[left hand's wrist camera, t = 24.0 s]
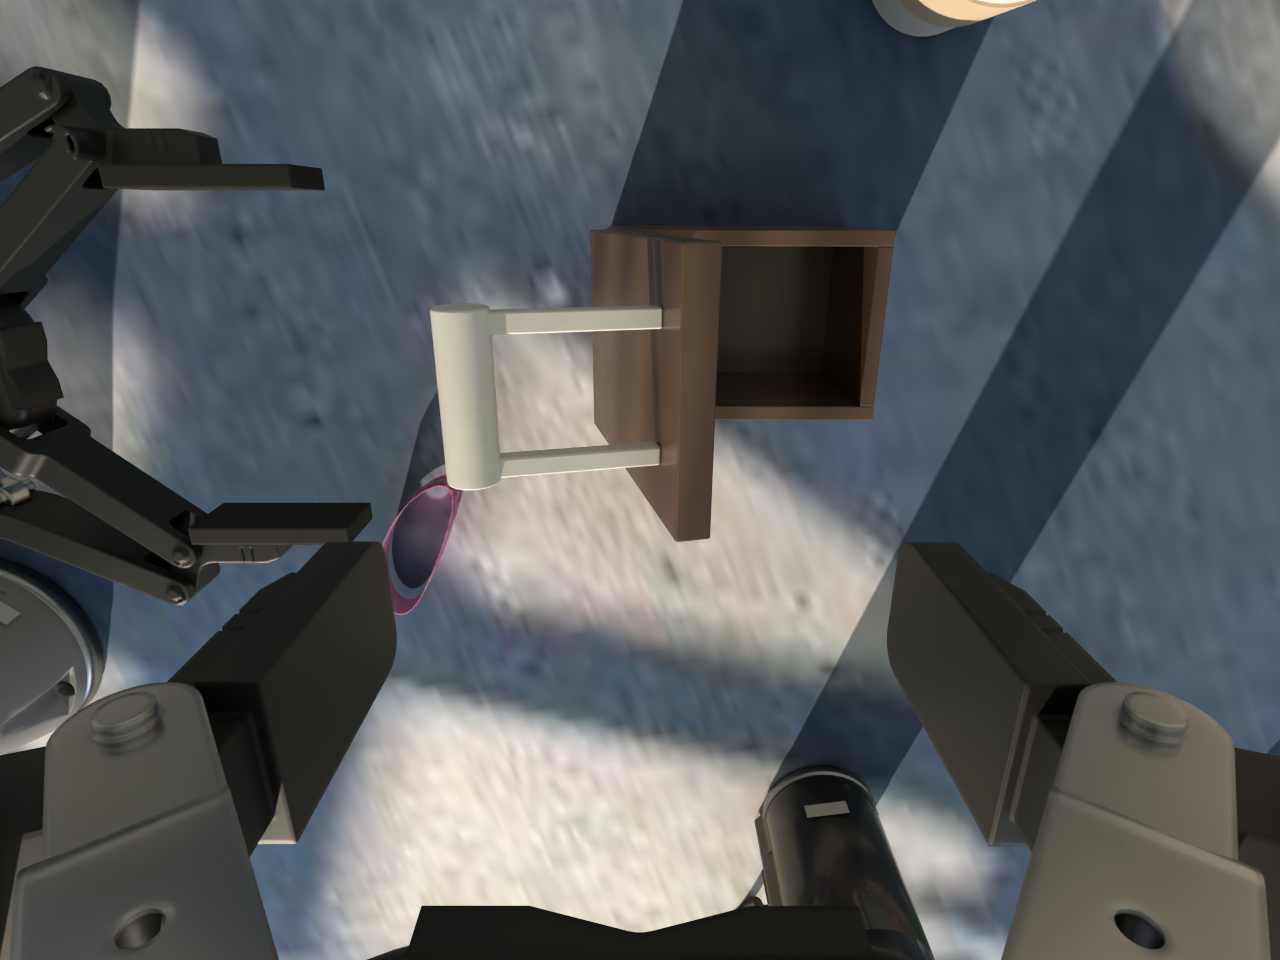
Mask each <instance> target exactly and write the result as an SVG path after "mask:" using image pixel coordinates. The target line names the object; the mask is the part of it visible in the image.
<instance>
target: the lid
mask: <svg viewBox="0 0 1280 960" xmlns="http://www.w3.org/2000/svg"><path fill="white" fill-rule="evenodd" d="M721 262H722V242H720V241H713V240H704V239H695V238H686V237H677V236H668V235H659V234H650V233H641V232H632V231H623V230H591V277H592V307H573V308H536V309H500V310H490V308H489V307H488V306H486V305H481V304H446V305H438V306H434V307H432V308H431V309H430V314H431V324H432V334H433V344H434V354H435V365H436V375H437V385H438V395H439V405H440V415H441V425H442V435H443V445H444V455H445V465H446V475H447V483H448V485H449V486H450V487H452V488H455V489H460V490H480V489H485V488H489V487H492V486H494V485H496V484H498V483H499V482H500V481H501V478H505V477H517V476H529V475H541V474H554V473H566V472H578V471H591V470H603V469H615V468H626V470H627V471H628V473H629V474H630V476H631V477H632V479H633V480H634V481H635V483H636V484H637V486H638V487H639V489H640V490H641V492H642V493H643V495H644V496H645V498H646V499H647V500H648V502H649V503H650V505H651V506H652V508H653V509H654V511H655V512H656V514H657V515H658V516H659V518H660V519H661V521H662V522H663V524H664V525H665V527H666V528H667V530H668V531H669V533H670V534H671V535H672V537H673V538H674V540H675V541H676V542H682V541H691V540H700V539H709V538H710V523H711V499H712V476H713V452H714V428H715V404H716V380H717V357H718V333H719V309H720V285H721ZM584 331H593V376H594V423H595V425H596V426H597V428H598V429H599V430H600V432H601V433H602V435H603V436H604V438H605V439H606V441H607V442H608V444H609V445H605V446H592V447H578V448H564V449H551V450H537V451H524V452H510V453H500V449H499V435H498V421H497V407H496V392H495V378H494V364H493V350H492V335H500V334H528V333H556V332H584Z"/></svg>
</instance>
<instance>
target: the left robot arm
mask: <svg viewBox="0 0 1280 960" xmlns="http://www.w3.org/2000/svg"><path fill="white" fill-rule="evenodd" d="M396 643H397V632H396V624H395V617H394V610H393V602H392V595H391V588H390V581H389V574H388V567H387V560H386V555H385V551H384V549H383V547H382V545H381V544H380V543H379V542H327V543H325V544H324V545H323V546H322V547H321V548H320V549H319V550H318V551H317V552H316V553H315V554H314V556H313V557H312V558H311V559H310V560H309V561H308V562H307V563H306V564H305V565H304V566H303V567H302V568H301V569H300V570H299V571H298V572H297V573H289V574H288V575H286V576H284V577H282V578H280V579H279V580H277V581H275V582H273V583H271V584H269V585H268V586H266V587H264V588H262V589H260V590H259V591H258V592H257V593H256V594H255V595H254V596H253V597H252V598H251V599H250V600H249V601H248V602H247V603H246V604H245V605H244V606H243V607H242V608H241V609H240V612H239V614H235V615H234V616H233V617H232V618H231V619H230V620H229V621H228V622H227V623H226V624H225V625H224V626H223V629H222V631H218V632H217V633H216V634H215V635H214V636H213V637H212V638H211V639H210V640H209V641H208V642H207V643H206V644H205V645H204V646H203V647H202V648H201V649H200V650H199V651H198V652H197V653H196V654H195V655H194V656H193V657H192V658H191V659H190V660H189V661H188V662H187V663H186V664H185V665H184V666H183V667H182V668H181V669H180V670H179V671H178V672H177V673H176V674H175V675H174V676H173V677H172V678H171V679H170V680H169V681H168V682H160V683H151V684H145V685H140V686H136V687H132V688H129V689H125V690H122V691H119V692H116V693H113V694H111V695H108V696H106V697H104V698H101V699H99V700H97V701H95V702H93V703H91V704H89V705H87V706H86V707H84V708H82V709H81V710H79V711H78V712H76V713H75V714H73V715H72V716H71V717H69V718H68V719H67V720H65V721H64V722H63V723H62V724H61V725H60V726H59V727H58V728H57V729H56V730H55V731H54V733H53V734H52V735H51V736H50V738H49V740H48V742H47V745H46V747H41V748H36V749H31V750H26V751H21V752H16V753H10V754H5V755H0V960H279V959H278V955H277V952H276V948H275V945H274V941H273V938H272V934H271V931H270V927H269V924H268V920H267V917H266V913H265V910H264V907H263V903H262V900H261V896H260V893H259V889H258V886H257V882H256V879H255V875H254V872H253V868H252V865H251V861H250V858H249V857H250V856H251V854H252V852H253V851H254V849H255V848H256V846H257V844H297V842H298V840H299V838H300V836H301V834H302V833H303V831H304V829H305V827H306V825H307V823H308V822H309V820H310V818H311V816H312V814H313V812H314V810H315V809H316V807H317V805H318V803H319V801H320V799H321V798H322V796H323V794H324V792H325V790H326V788H327V787H328V785H329V783H330V781H331V779H332V777H333V776H334V774H335V772H336V770H337V768H338V766H339V765H340V763H341V761H342V759H343V757H344V755H345V753H346V752H347V750H348V748H349V746H350V744H351V742H352V741H353V739H354V737H355V735H356V733H357V731H358V730H359V728H360V726H361V724H362V722H363V720H364V719H365V717H366V715H367V713H368V711H369V709H370V708H371V706H372V704H373V702H374V700H375V698H376V696H377V695H378V693H379V691H380V689H381V687H382V685H383V684H384V682H385V680H386V678H387V676H388V674H389V673H390V670H391V668H392V665H393V662H394V658H395V653H396ZM887 648H888V656H889V661H890V664H891V667H892V670H893V672H894V674H895V676H896V678H897V680H898V682H899V683H900V685H901V687H902V689H903V691H904V692H905V694H906V696H907V698H908V700H909V701H910V703H911V705H912V707H913V709H914V711H915V712H916V714H917V716H918V718H919V720H920V721H921V723H922V725H923V727H924V729H925V731H926V732H927V734H928V736H929V738H930V740H931V741H932V743H933V745H934V747H935V749H936V751H937V752H938V754H939V756H940V758H941V760H942V761H943V763H944V765H945V767H946V769H947V771H948V772H949V774H950V776H951V778H952V780H953V781H954V783H955V785H956V787H957V789H958V791H959V792H960V794H961V796H962V798H963V800H964V801H965V803H966V805H967V807H968V809H969V810H970V812H971V814H972V816H973V818H974V820H975V821H976V823H977V825H978V827H979V829H980V830H981V832H982V834H983V836H984V838H985V840H986V841H987V843H988V845H989V846H1028V847H1029V848H1030V850H1031V852H1032V854H1031V858H1030V861H1029V865H1028V868H1027V872H1026V875H1025V879H1024V882H1023V886H1022V889H1021V893H1020V896H1019V900H1018V903H1017V907H1016V910H1015V913H1014V917H1013V920H1012V924H1011V927H1010V931H1009V934H1008V938H1007V941H1006V945H1005V948H1004V952H1003V955H1002V959H1001V960H1280V757H1279V756H1274V755H1269V754H1264V753H1259V752H1254V751H1249V750H1244V749H1239V748H1235V747H1234V745H1233V742H1232V740H1231V738H1230V736H1229V735H1228V734H1227V733H1226V731H1225V730H1224V729H1223V728H1222V727H1221V726H1220V725H1219V724H1218V723H1217V722H1216V721H1215V720H1213V719H1212V718H1211V717H1209V716H1208V715H1207V714H1205V713H1204V712H1202V711H1201V710H1199V709H1198V708H1196V707H1194V706H1193V705H1191V704H1189V703H1187V702H1185V701H1183V700H1181V699H1179V698H1176V697H1174V696H1172V695H1169V694H1167V693H1164V692H1161V691H1158V690H1155V689H1151V688H1148V687H1144V686H1140V685H1135V684H1129V683H1120V682H1117V681H1116V680H1115V679H1114V678H1113V677H1112V676H1111V675H1110V674H1109V673H1108V672H1107V671H1106V670H1105V669H1104V668H1103V667H1102V666H1100V665H1099V664H1098V663H1097V662H1096V661H1095V660H1094V659H1093V658H1092V657H1091V656H1090V655H1089V654H1088V653H1087V652H1086V651H1085V650H1084V649H1083V648H1082V647H1081V646H1080V645H1079V644H1078V643H1077V642H1076V641H1075V640H1074V639H1073V638H1072V637H1071V636H1070V635H1069V634H1068V633H1063V628H1062V627H1061V626H1060V625H1059V624H1058V623H1057V622H1056V621H1055V620H1054V619H1053V618H1052V617H1051V616H1046V611H1045V610H1044V609H1043V608H1042V607H1041V606H1040V605H1039V604H1038V603H1037V602H1036V601H1035V600H1033V599H1032V598H1031V597H1030V596H1029V595H1028V594H1027V593H1026V592H1025V591H1024V590H1022V589H1020V588H1018V587H1017V586H1015V585H1013V584H1011V583H1009V582H1007V581H1006V580H1004V579H1002V578H1000V577H998V576H997V575H995V574H987V573H986V572H985V571H984V570H983V569H982V568H981V567H980V566H979V564H978V563H977V562H976V561H975V560H974V559H973V558H972V557H971V556H970V555H969V554H968V553H967V552H966V551H965V550H964V549H963V548H962V547H961V546H960V545H959V544H957V543H905V544H904V545H903V546H902V548H901V550H900V552H899V556H898V561H897V567H896V574H895V581H894V588H893V595H892V602H891V609H890V616H889V623H888V631H887ZM755 827H756V832H757V838H758V843H759V848H760V854H761V859H762V864H763V870H762V876H763V881H764V887H765V892H766V898H767V903H768V904H767V905H763V903H762V901H761V899H760V898H758V897H751V898H749V899H748V900H746V901H745V902H744V903H743V904H742V905H741V906H740V907H739V908H738V909H737V910H733V911H729V912H725V913H721V914H717V915H713V916H709V917H706V918H702V919H698V920H694V921H690V922H686V923H682V924H678V925H674V926H670V927H666V928H662V929H659V930H655V931H650V932H630V931H625V930H621V929H618V928H614V927H610V926H606V925H602V924H598V923H594V922H590V921H586V920H582V919H578V918H574V917H571V916H567V915H563V914H559V913H555V912H551V911H547V910H543V909H539V908H535V907H531V906H422V907H421V910H420V913H419V916H418V919H417V923H416V926H415V929H414V932H413V935H412V938H411V942H410V945H409V946H406V947H402V948H398V949H395V950H392V951H389V952H387V953H384V954H381V955H378V956H376V957H373V958H370V959H368V960H935V959H934V956H933V954H932V951H931V949H930V946H929V943H928V941H927V938H926V936H925V933H924V931H923V928H922V926H921V923H920V921H919V918H918V915H917V913H916V910H915V908H914V905H913V903H912V900H911V898H910V895H909V893H908V890H907V887H906V885H905V882H904V880H903V877H902V875H901V872H900V870H899V867H898V865H897V862H896V859H895V857H894V854H893V852H892V849H891V847H890V844H889V842H888V839H887V837H886V834H885V831H884V829H883V826H882V824H881V821H880V819H879V816H878V812H877V809H876V807H875V803H874V800H873V798H872V795H871V793H870V791H869V789H868V787H867V786H866V784H865V783H864V782H863V781H862V780H861V779H860V778H858V777H857V776H855V775H854V774H852V773H850V772H848V771H845V770H842V769H839V768H834V767H811V768H806V769H802V770H799V771H796V772H794V773H791V774H789V775H788V776H786V777H784V778H783V779H781V780H780V781H779V782H778V783H776V784H775V785H774V786H773V787H772V789H771V790H770V791H769V793H768V794H767V796H766V798H765V800H764V803H763V808H762V814H761V815H760V817H758V818H757V819H756V820H755Z"/></svg>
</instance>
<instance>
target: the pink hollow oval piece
mask: <svg viewBox="0 0 1280 960" xmlns="http://www.w3.org/2000/svg"><path fill="white" fill-rule="evenodd" d="M434 487H444V488H446V489H448V490H449V491H450V493H451V496H452V511H451V517H450V521H449V525H448V529H447V532H446V535H445V538H444V541H443V544H442V547H441V550H440V553H439V556H438V558H437V561H436V564H435V566H434V569H433V571H432V574H431V576H430V579H429V581H428V583H427V585H426V587H425V589H426V588H427V586H428V584H429V582H430V581H431V579H432V577H433V575H434V572H435V570H436V568H437V566H438V563H439V561H440V559H441V556H442V553H443V551H444V548H445V546H446V543H447V540H448V537H449V535H450V532H451V529H452V526H453V523H454V520H455V516H456V513H457V509H458V505H459V499H460V489H455V488H452V487H450V486H449V485H448V483H447V475H444V476H440V477H438V478H436V479H434V480H432V481H430V482H429V483H427V484H426V485H425V486H423V487H422V488H421V489H420V490H419V491H418V492H417V493H416V494H415V495H414V496H413V497H412V498H411V500H410V501H409V502H408V503H407V505H408V504H409V503H410V502H411V501H412V500H413V499H415V498H416V497H417V496H418V495H420V494H421V493H423V492H425V491H427V490H429V489H431V488H434ZM407 505H406V506H407ZM406 506H405V507H406ZM405 507H404V508H403V510H404V509H405ZM403 510H402V511H401V512H400V513H399V515H398V516H397V517H396V519H395V520H394V522H393V524H392V525H391V527H390V529H389V531H388V533H387V535H386V537H385V539H384V541H383V544H382V547H383V549H384V551H385V555H386V560H387V567H388V574H389V581H390V588H391V595H392V602H393V610H394V613H395V614H397V615H404V614H407V613H408V612H410V611H411V610H412V609H413V608H414V607H415V606H416V604H417V603H418V601H419V600H420V598H421V596H422V595H423V593H424V591H425V589H424V590H423V592H422V593H421V594H420V595H419V596H417V597H416V598H414V599H406V598H403V597H402V596H401V595H400V594H399V593H398V592H397V591H396V589H395V587H394V585H393V583H392V580H391V576H390V571H389V548H390V542H391V538H392V534H393V531H394V528H395V526H396V523H397V521H398V519H399V517H400V515H401V514H402V512H403Z"/></svg>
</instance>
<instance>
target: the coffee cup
mask: <svg viewBox="0 0 1280 960" xmlns="http://www.w3.org/2000/svg"><path fill="white" fill-rule="evenodd" d="M1033 1H1036V0H872V2H873V4H874V6H875V8H876V10H877V11H878V13H879V14H880V16H881V17H882V18H883V19H884V20H885V21H886V22H887V23H888V24H889V25H890V26H891V27H893V28H894V29H896V30H898V31H899V32H902V33H904V34H907V35H911V36H918V37H925V36H933V35H937V34H940V33H943V32H945V31H948V30H951V29H953V28H956V27H961V26H966V25H970V24H973V23H976V22H979V21H982V20H985V19H987V18H990V17H993V16H995V15H998V14H1001V13H1004V12H1006V11H1009V10H1012V9H1014V8H1017V7H1020V6H1023V5H1025V4H1028V3H1031V2H1033Z"/></svg>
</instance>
